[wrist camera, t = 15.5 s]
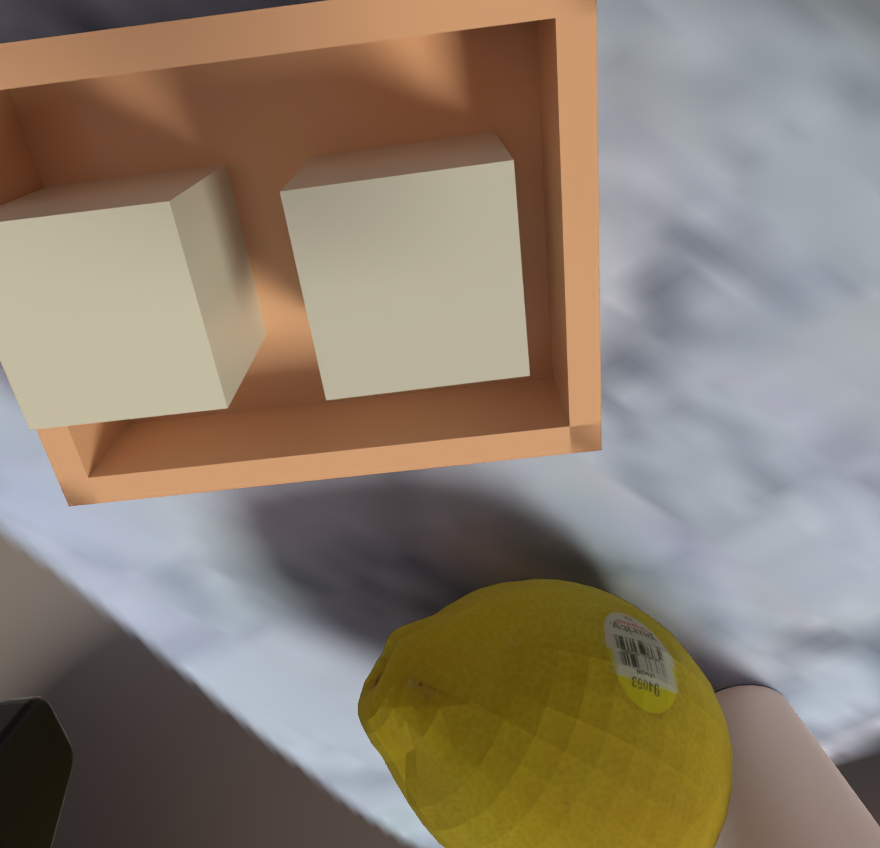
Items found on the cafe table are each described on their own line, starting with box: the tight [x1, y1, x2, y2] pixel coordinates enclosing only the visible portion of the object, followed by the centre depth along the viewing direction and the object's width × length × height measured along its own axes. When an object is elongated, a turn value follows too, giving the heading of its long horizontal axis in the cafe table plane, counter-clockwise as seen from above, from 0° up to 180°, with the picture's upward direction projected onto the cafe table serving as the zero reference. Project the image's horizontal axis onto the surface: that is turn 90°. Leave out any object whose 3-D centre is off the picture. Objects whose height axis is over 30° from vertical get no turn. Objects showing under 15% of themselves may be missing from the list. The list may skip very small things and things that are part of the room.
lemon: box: [358, 579, 733, 848], centre depth 20 cm, size 11×8×8 cm
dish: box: [0, 0, 602, 506], centre depth 16 cm, size 12×9×3 cm
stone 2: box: [280, 131, 530, 400], centre depth 15 cm, size 4×4×4 cm
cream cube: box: [0, 164, 267, 430], centre depth 15 cm, size 4×4×4 cm
